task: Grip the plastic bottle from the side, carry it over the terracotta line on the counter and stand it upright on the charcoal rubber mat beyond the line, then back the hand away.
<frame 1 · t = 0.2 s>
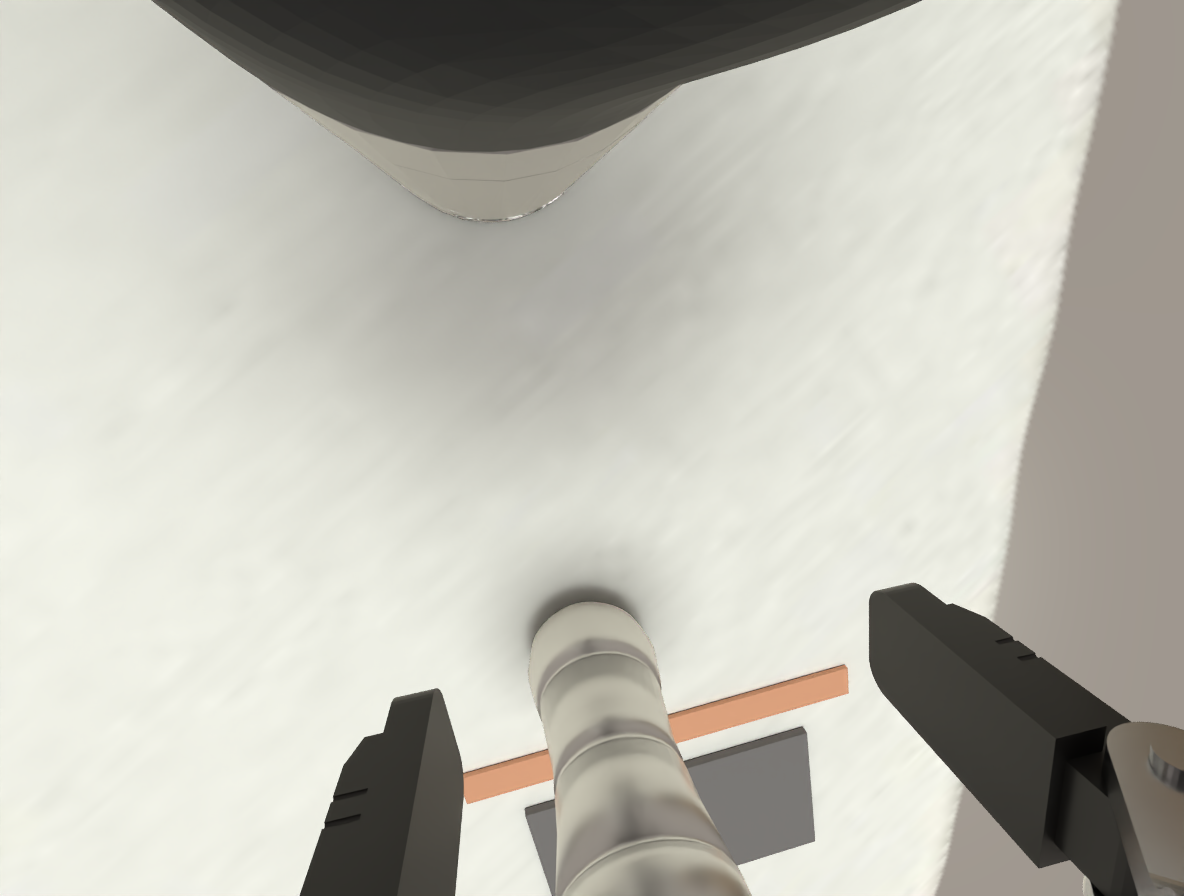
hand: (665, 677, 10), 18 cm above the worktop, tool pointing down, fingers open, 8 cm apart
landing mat: (678, 822, 37), on the worktop
plastic bottle: (585, 634, 31), on the worktop
foul line: (659, 730, 34), on the worktop
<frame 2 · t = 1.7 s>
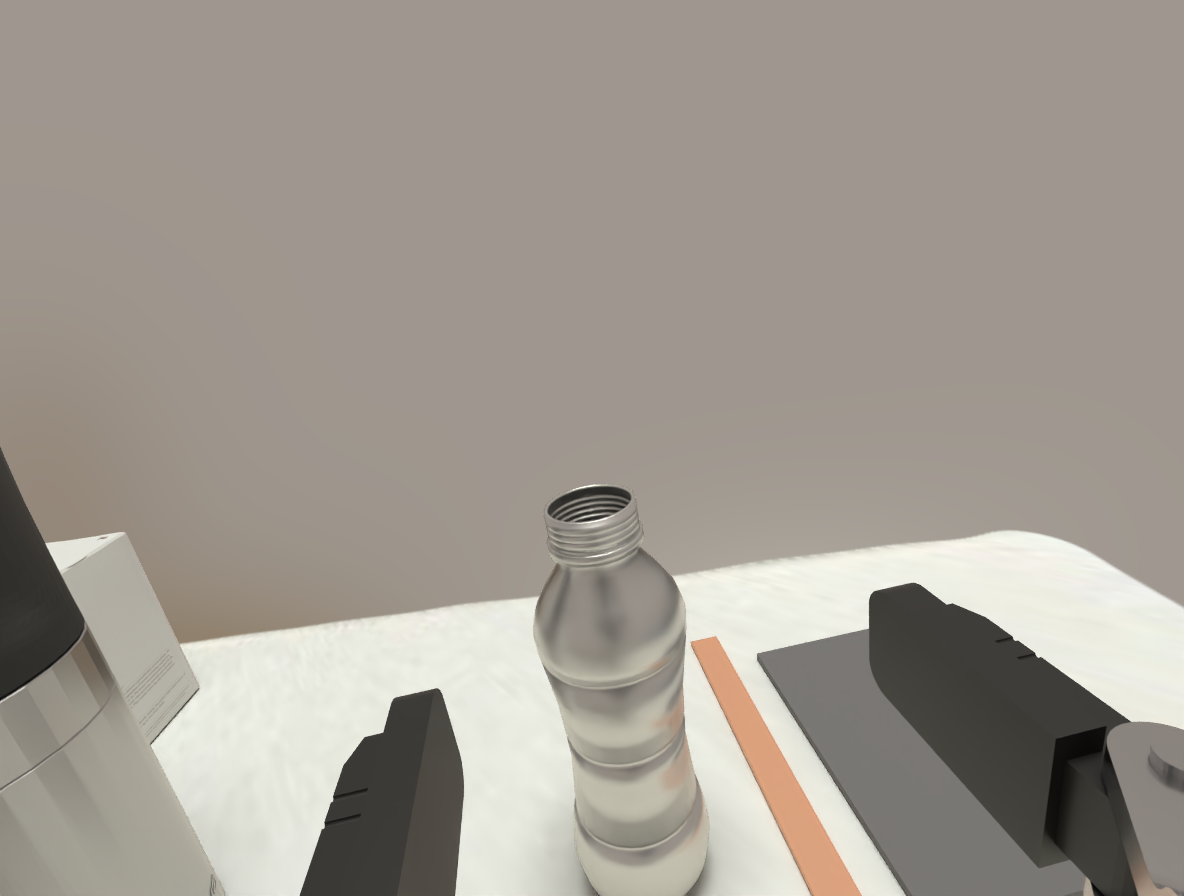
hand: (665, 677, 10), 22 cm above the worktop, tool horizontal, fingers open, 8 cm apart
supplement box: (110, 739, 43), on the worktop
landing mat: (904, 742, 33), on the worktop
plastic bottle: (648, 864, 29), on the worktop
foul line: (772, 774, 32), on the worktop
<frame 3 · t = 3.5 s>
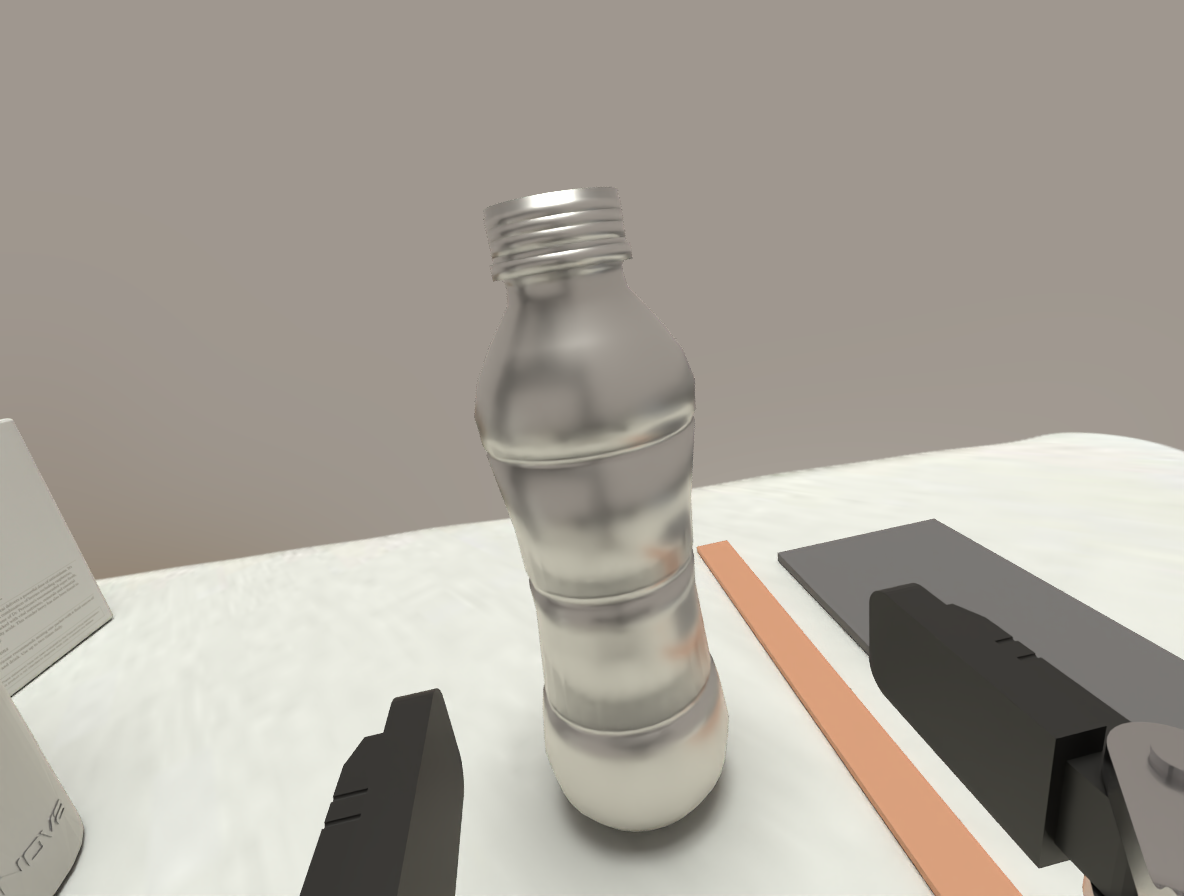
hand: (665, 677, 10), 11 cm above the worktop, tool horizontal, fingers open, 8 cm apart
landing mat: (974, 632, 25), on the worktop
plastic bottle: (645, 778, 21), on the worktop
foul line: (806, 672, 25), on the worktop
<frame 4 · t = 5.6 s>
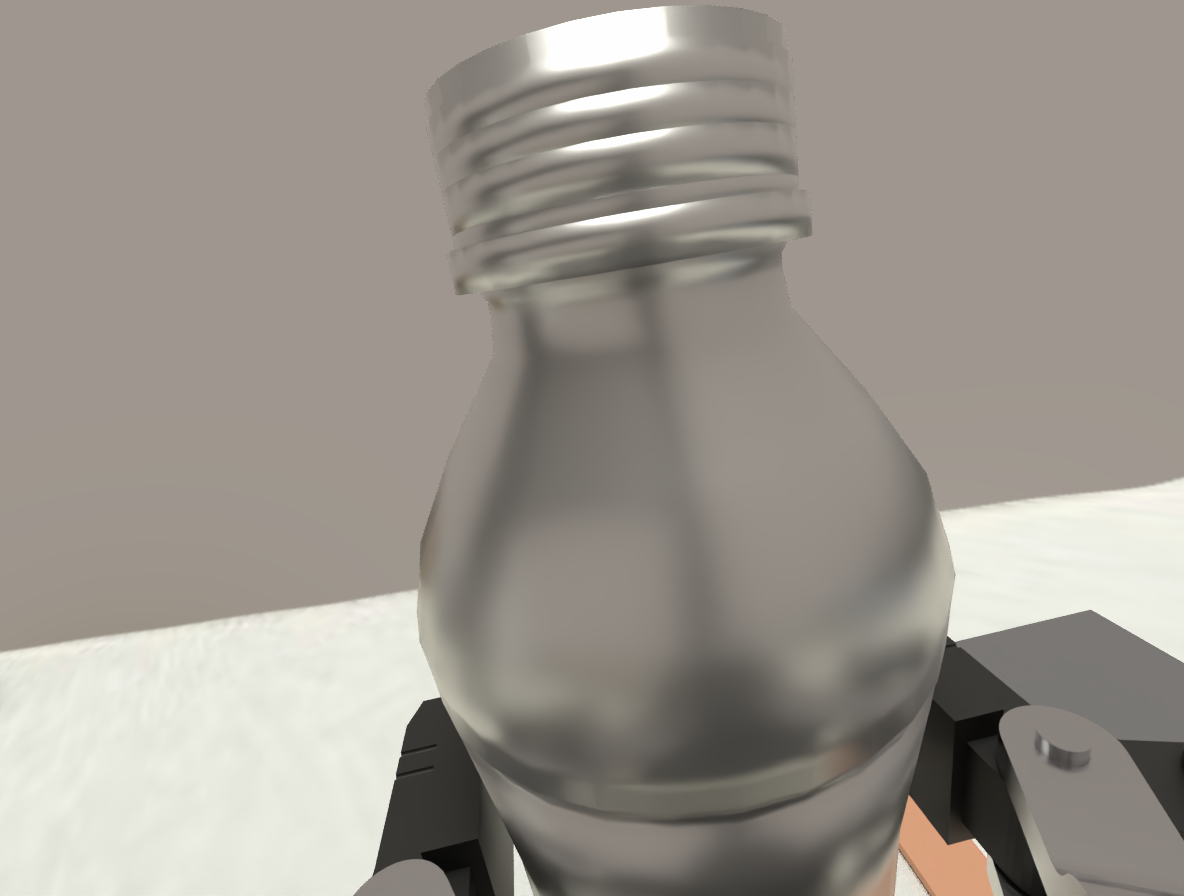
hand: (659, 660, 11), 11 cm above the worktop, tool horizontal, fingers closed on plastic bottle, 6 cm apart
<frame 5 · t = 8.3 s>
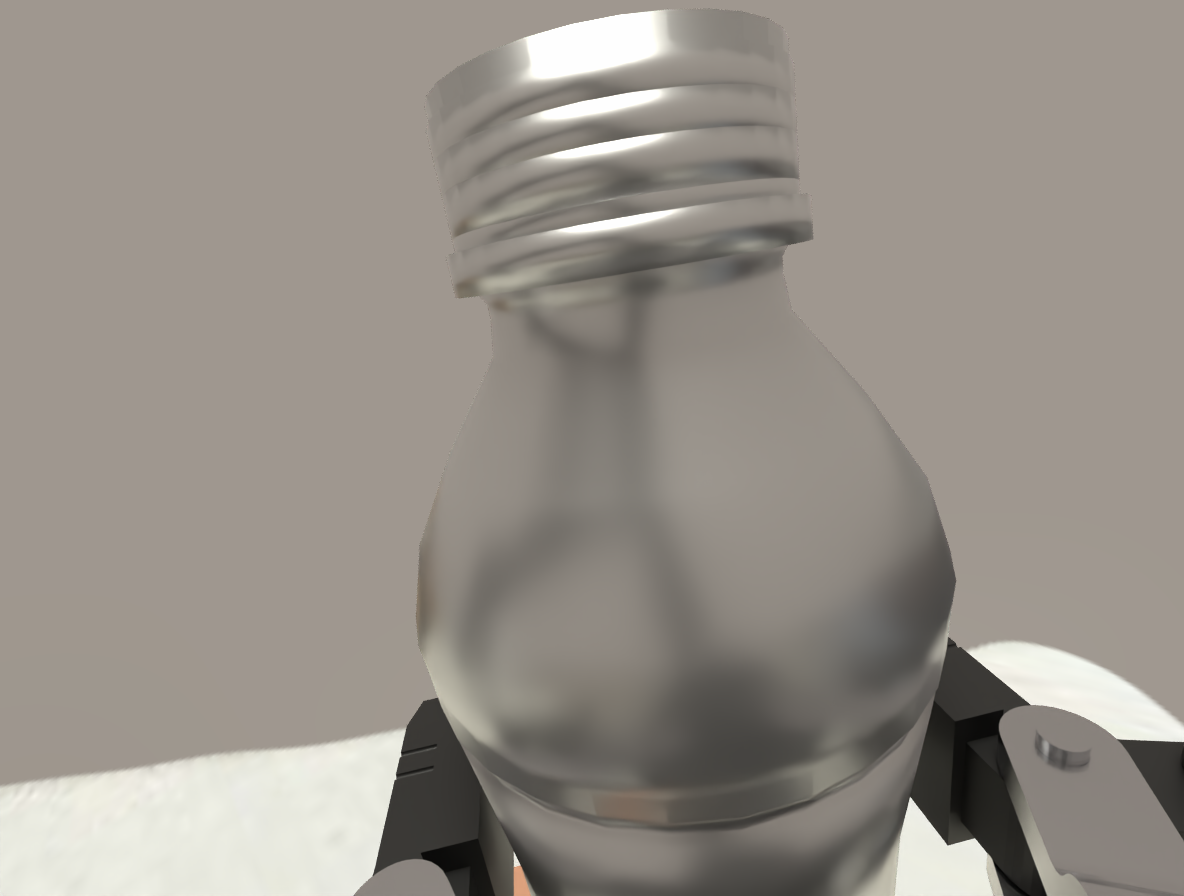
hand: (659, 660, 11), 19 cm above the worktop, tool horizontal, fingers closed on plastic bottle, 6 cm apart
when the fingers open (12 cm above the worktop, at t = 11.1 s): plastic bottle stays where it is, resting on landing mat.
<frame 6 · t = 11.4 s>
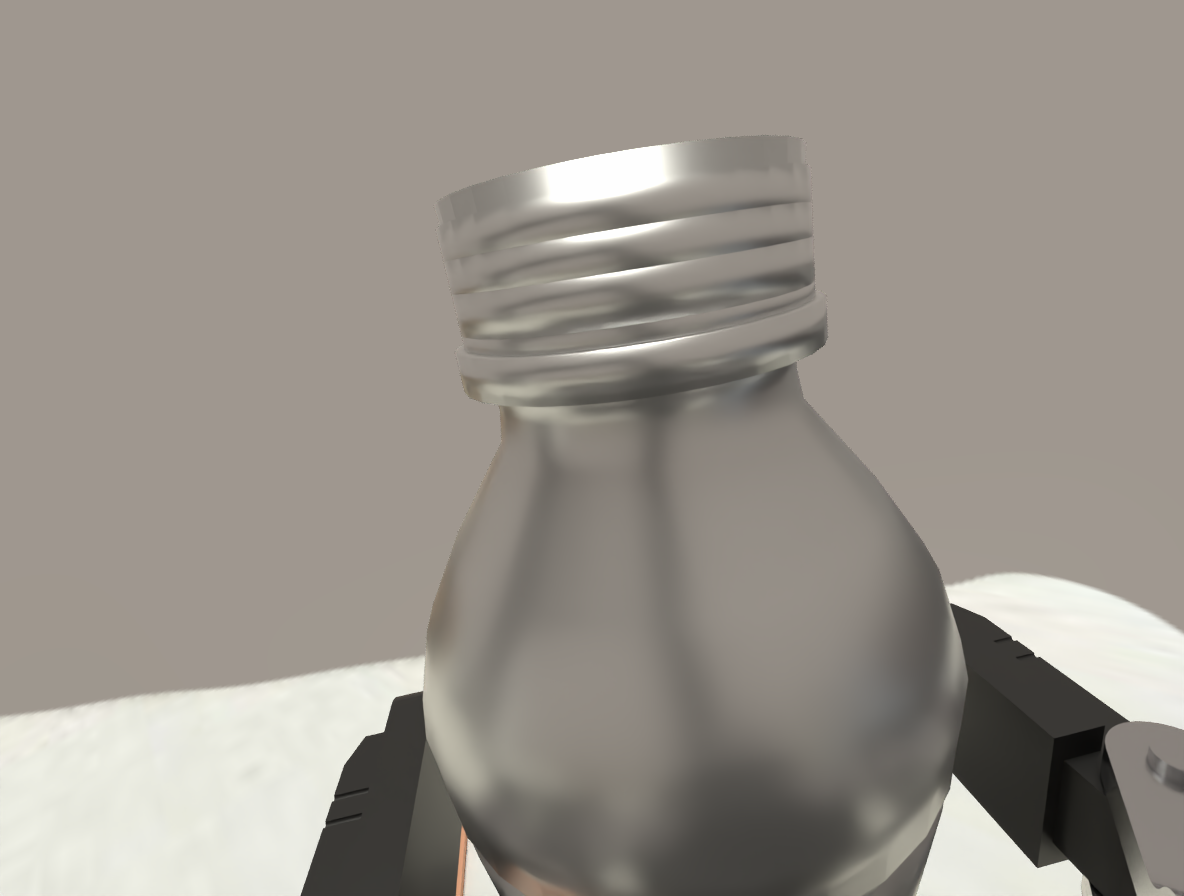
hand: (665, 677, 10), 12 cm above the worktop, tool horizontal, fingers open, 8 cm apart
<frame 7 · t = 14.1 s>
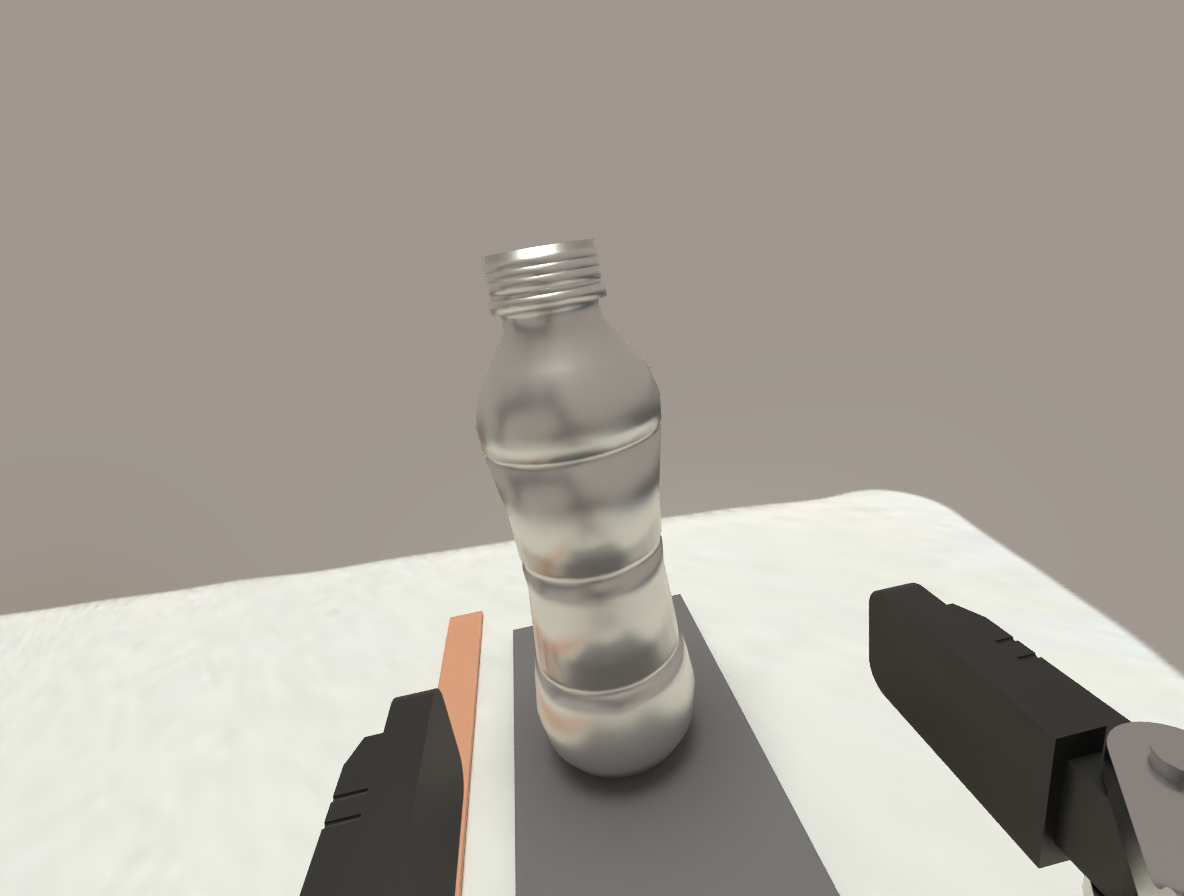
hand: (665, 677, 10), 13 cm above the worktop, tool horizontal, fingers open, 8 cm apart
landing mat: (629, 738, 25), on the worktop
plastic bottle: (624, 737, 24), resting on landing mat
foul line: (447, 781, 24), on the worktop
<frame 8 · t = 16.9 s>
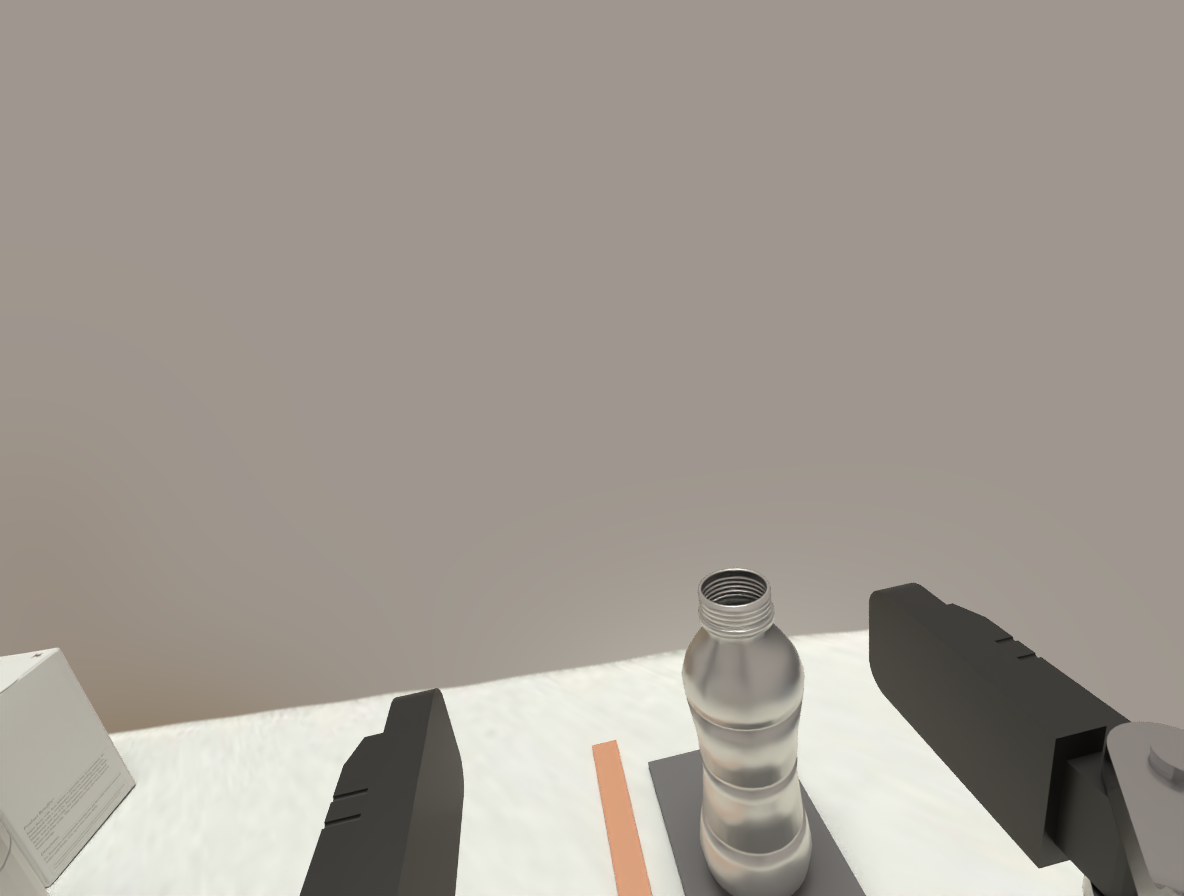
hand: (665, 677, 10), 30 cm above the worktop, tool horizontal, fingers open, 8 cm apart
supplement box: (46, 841, 46), on the worktop
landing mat: (759, 866, 35), on the worktop
plastic bottle: (757, 867, 35), resting on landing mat
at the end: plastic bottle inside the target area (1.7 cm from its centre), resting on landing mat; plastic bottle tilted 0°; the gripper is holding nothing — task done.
